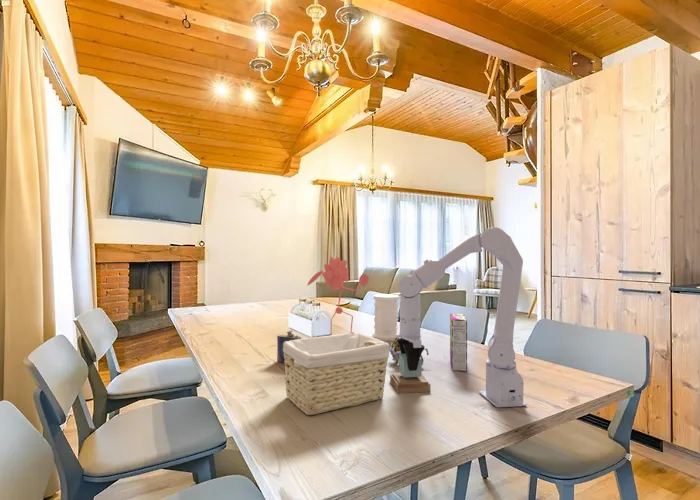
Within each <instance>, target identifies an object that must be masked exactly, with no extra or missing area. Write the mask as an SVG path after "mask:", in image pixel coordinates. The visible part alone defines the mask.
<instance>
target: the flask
mask: <svg viewBox="0 0 700 500" xmlns="http://www.w3.org/2000/svg"><path fill="white" fill-rule="evenodd" d="M292 332H293V330H289V331H286V333H287V334H278V335H277V337H276V339H277V343H276V344H277V345H276V346H277V351H276V357H277V358H276V361H277V363H280V364H285V362H284V361H285V359H284V352H283V343H284V342H285V341H291V340H297V339H302V337H301V336H298V334H297V335H295V334H294V333H292Z"/></svg>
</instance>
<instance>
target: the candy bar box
mask: <svg viewBox="0 0 700 500" xmlns="http://www.w3.org/2000/svg"><path fill="white" fill-rule="evenodd" d="M449 359H450V362H449V363H450V365H451V366H450V367H451V370H452V371H453V372H468V320H467V317H466V315H465V314H464V313H452V312H451V313H449Z"/></svg>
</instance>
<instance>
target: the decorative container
mask: <svg viewBox="0 0 700 500" xmlns="http://www.w3.org/2000/svg"><path fill="white" fill-rule="evenodd" d="M373 300H374V305H373V306H374V311H373V313H374V319H373V321H374V325H373V328H374V332H373V333H372V335H371V337H373V338H375V339H378V340H381V341H383V342H386V341H390V342H391V341H393V340H394V339H395V338H397V337H396V334H399V333H398V321H399V319H398V314H399V312H398V307H399V304H398V300H400V296H399V295H398V294H389V293H380V294H379V293H378V294H377V293H376V294H373Z"/></svg>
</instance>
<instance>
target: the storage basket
mask: <svg viewBox="0 0 700 500" xmlns="http://www.w3.org/2000/svg"><path fill="white" fill-rule="evenodd" d="M389 349H390V344H389V343H388V342H386V341H384V340H378V339H375V338H373V337H372V336H370V335H368V334H367V335H366V334H363V333H360V332H357V333H354V334H349V333H341V334H332V335H331V334H330V335H324V336H323V335H322V336H314V337H306V338H305V337H304V338H301V339H297V340H291V341H285V342H284V343H283V352H284V359H285V361H284V362H285V363H284V368H285V369H284V371H285V372H284V373H285V390H286V391H285V393H286V397H287V399H289V400H290V401H291V402H292V403H293V404H294V405H296V407H297V408H298V409H300V410H301V411H302V412H303V413H305V414H306V415H308V416H313V415H319V414H322V413H327V412H329V411H330V412H331V411H335V410H338V409H342V408H348V407H354V406H359V405H362V404H366V403H368V402H373V401H377V400H381V399H383V398H384V391H385V390H384V389H385V384H386V375H387V365H388V361H389V360H388V359H389V356H390V351H389Z"/></svg>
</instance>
